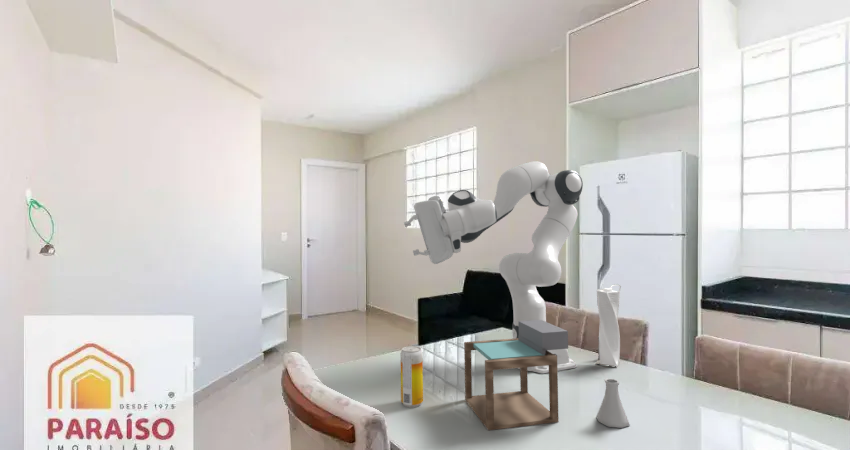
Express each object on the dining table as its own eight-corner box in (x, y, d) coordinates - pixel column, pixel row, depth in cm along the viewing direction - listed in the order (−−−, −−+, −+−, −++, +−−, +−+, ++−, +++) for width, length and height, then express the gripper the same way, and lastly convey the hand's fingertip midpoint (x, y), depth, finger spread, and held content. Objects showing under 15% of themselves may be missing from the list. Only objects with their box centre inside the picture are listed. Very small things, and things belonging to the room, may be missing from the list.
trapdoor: (541, 342, 116) (541, 319, 116) (568, 356, 103) (567, 331, 103) (473, 347, 112) (473, 324, 112) (491, 362, 98) (491, 336, 99)
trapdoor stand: (525, 393, 117) (524, 337, 117) (558, 421, 99) (557, 356, 100) (465, 399, 113) (464, 342, 114) (488, 430, 96) (487, 362, 96)
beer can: (426, 400, 113) (425, 346, 113) (418, 409, 107) (418, 352, 108) (406, 397, 115) (405, 344, 115) (397, 406, 109) (396, 350, 110)
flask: (591, 415, 102) (590, 376, 103) (618, 414, 103) (617, 374, 103) (606, 429, 95) (605, 387, 95) (635, 428, 96) (634, 385, 96)
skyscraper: (624, 362, 143) (622, 283, 144) (621, 369, 136) (619, 286, 137) (598, 359, 147) (596, 282, 148) (595, 365, 141) (593, 284, 141)
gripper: (443, 193, 125) (400, 207, 122) (461, 256, 127) (420, 270, 124) (438, 194, 131) (397, 207, 128) (456, 253, 133) (416, 267, 131)
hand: (409, 239), depth 126 cm, fingers open, 8 cm apart
